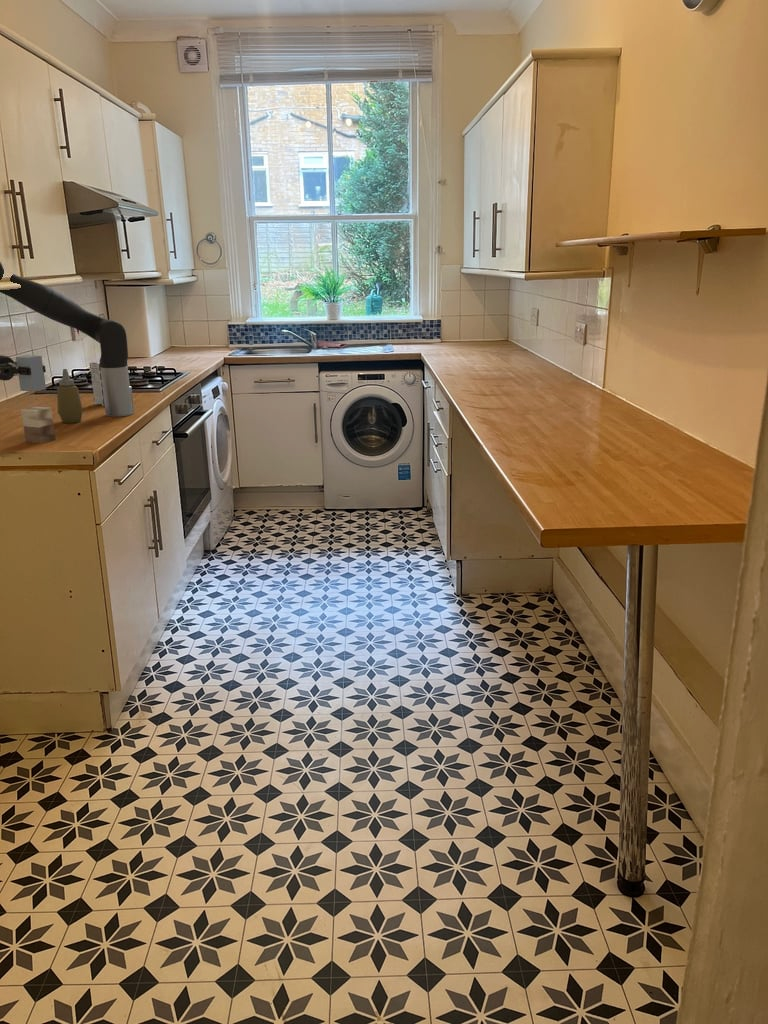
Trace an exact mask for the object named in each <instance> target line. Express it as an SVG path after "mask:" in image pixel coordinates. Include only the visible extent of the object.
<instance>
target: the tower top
mask: <svg viewBox="0 0 768 1024" xmlns="http://www.w3.org/2000/svg"><path fill="white" fill-rule="evenodd" d="M20 415H21V421H22V426H23V427H24V426H27V427H37V428H39V427H43V426H47V425H51V424H54V420H53V419H54V418H53V412H52V407H45V406H33V407H28V408H23V409H21V410H20Z"/></svg>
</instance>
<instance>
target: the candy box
mask: <svg viewBox="0 0 768 1024" xmlns="http://www.w3.org/2000/svg"><path fill="white" fill-rule="evenodd" d="M127 366H128V364H127ZM89 368H90V369H89V370H90V378H91V387H92V394H93V395H92V396H93V402H94V405H95V406H102V407H105V403H104V395H103V386H102V377H101V369H100V360H97V361H92V362H89ZM128 375H129V376H130V374H129V372H128ZM129 384H130V381H129ZM130 385H131V384H130Z"/></svg>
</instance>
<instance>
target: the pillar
mask: <svg viewBox="0 0 768 1024" xmlns="http://www.w3.org/2000/svg"><path fill="white" fill-rule="evenodd" d="M15 360H16V362H17V366H19V367H29V368H31V375H19V376H18V381H19V382H18V383H19V389H20V391H21V392H22V391H23V392H32V393H33V392H34V393H35V392H39V391H43V390H47V387H46V386H47V385H46V378H45V373H44V371H43V365H44V363H43V356H42V355H31V354H28V355H22V356H21V355H20V356H15Z"/></svg>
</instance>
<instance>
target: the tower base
mask: <svg viewBox="0 0 768 1024" xmlns="http://www.w3.org/2000/svg"><path fill="white" fill-rule="evenodd" d="M23 431H24V438H25V442H26V443H30V442H32V444H41V445H42V444H45V443H48V442H52V441H55V440H56V439H57V438H56V432H55V425H54V423H53V424H51V425H47V426H43V427H39V428H37V427H27V426H23Z"/></svg>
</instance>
